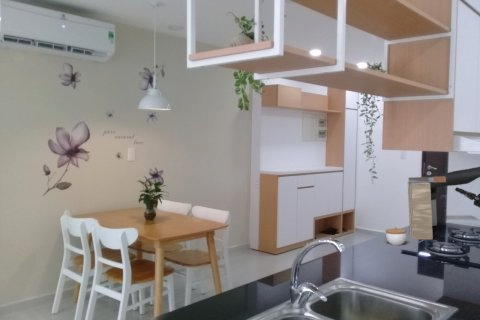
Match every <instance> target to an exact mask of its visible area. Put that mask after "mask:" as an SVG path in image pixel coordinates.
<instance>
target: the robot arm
mask: <svg viewBox="0 0 480 320" xmlns="http://www.w3.org/2000/svg"><path fill="white" fill-rule="evenodd" d="M423 177H427V178H429V177H446V182H429V183H430V189H431V211H432V227H433V226H437V225H438V220H437V219H438V218H437V195H438V194H437V193H438V192H437V188H439V187H448V186H449V187H451V186H461V185H467V184H470V183H472V182H473V181H475V180H477V179H479V178H480V166H477V167H471V168H465V169H464V168H463V169H459V170H454V171H449V172H446V173H442V174H439V175H424V176H423ZM454 191H456V192H457V193H459V194H461V195H462V196H464V197H465V198H467V199H468V200H470V201H473V205H474V206H476V207H478V208H480V193H478V194H476V193H473V192H471V191H468V190H465V189H463V188H460V187H455V189H454Z"/></svg>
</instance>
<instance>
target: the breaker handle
mask: <svg viewBox="0 0 480 320" xmlns="http://www.w3.org/2000/svg"><path fill="white" fill-rule="evenodd" d="M429 182H446V177H429Z"/></svg>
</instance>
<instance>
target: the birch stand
mask: <svg viewBox="0 0 480 320" xmlns="http://www.w3.org/2000/svg"><path fill="white" fill-rule="evenodd" d="M407 197H408V200H407V201H408V218H409V219H408V220H409V235H410V236H411V238H412V239H413V240H433V238H434V235H433V234H434V233H433V226H432V211H431V189H430V183H429V178H427V177H424V176H421V177H418V176H415V177H408V181H407Z"/></svg>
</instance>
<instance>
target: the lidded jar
mask: <svg viewBox="0 0 480 320" xmlns="http://www.w3.org/2000/svg"><path fill="white" fill-rule="evenodd" d="M385 236H386V239H387V242H388V243H389V244H390V245H392V246H403V244H404V243H405V242H406V240H407V239H406V238H407V230H406V229H404V228H398V227H397V226H395V227H394V228H388V229H387V228H386V229H385Z"/></svg>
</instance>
